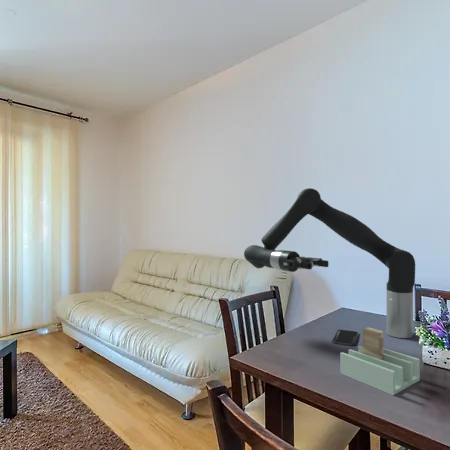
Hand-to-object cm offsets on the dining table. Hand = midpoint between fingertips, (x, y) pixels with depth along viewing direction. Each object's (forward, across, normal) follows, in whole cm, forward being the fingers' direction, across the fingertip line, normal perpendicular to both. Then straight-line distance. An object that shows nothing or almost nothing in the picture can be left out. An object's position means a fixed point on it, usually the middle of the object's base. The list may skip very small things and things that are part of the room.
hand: (319, 265), depth 116 cm
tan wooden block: (+19, 0, +29) cm, 35 cm away
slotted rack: (+21, 0, +30) cm, 37 cm away
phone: (-4, +20, +31) cm, 37 cm away
